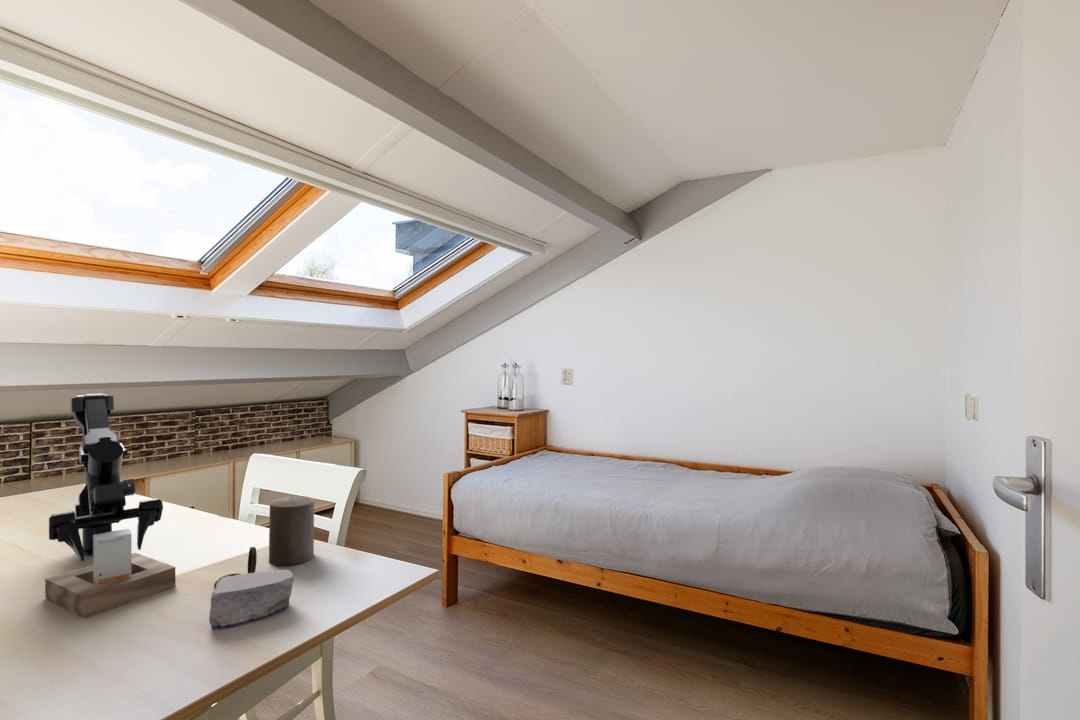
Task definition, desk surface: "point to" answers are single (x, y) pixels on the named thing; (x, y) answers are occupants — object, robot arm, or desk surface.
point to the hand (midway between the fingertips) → (111, 554)
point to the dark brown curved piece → (251, 563)
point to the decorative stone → (249, 597)
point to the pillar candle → (291, 530)
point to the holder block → (108, 586)
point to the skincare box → (111, 556)
